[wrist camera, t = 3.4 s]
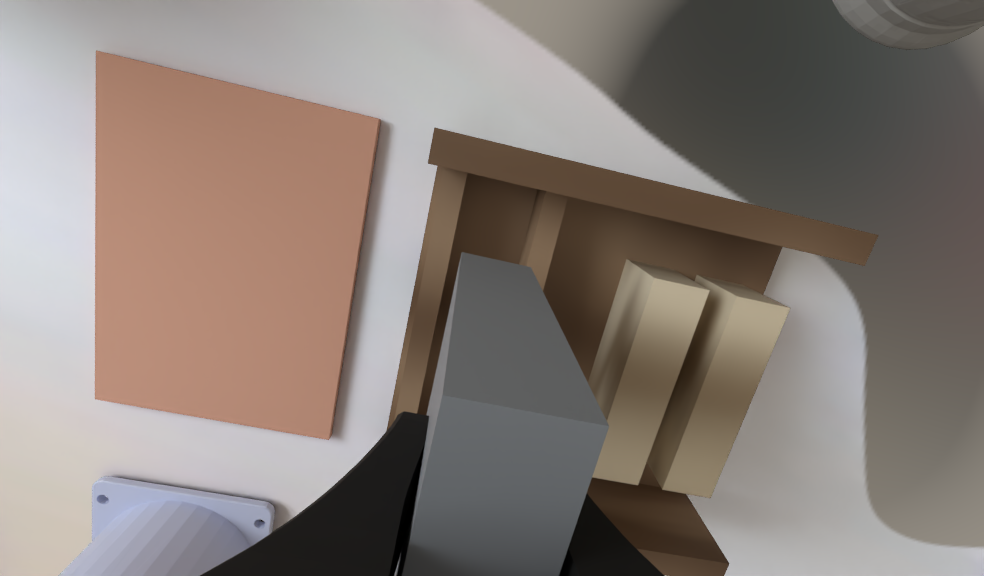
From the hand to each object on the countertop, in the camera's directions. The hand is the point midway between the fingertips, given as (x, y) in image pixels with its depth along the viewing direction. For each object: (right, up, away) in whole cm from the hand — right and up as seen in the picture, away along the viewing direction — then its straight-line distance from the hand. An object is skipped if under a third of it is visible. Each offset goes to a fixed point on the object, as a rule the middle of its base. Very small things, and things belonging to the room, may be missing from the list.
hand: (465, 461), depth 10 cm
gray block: (0, +1, +4) cm, 4 cm away
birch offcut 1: (+6, +1, +9) cm, 11 cm away
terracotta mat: (-10, +5, +9) cm, 14 cm away
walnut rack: (+4, +2, +10) cm, 11 cm away
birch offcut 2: (+9, 0, +9) cm, 13 cm away
